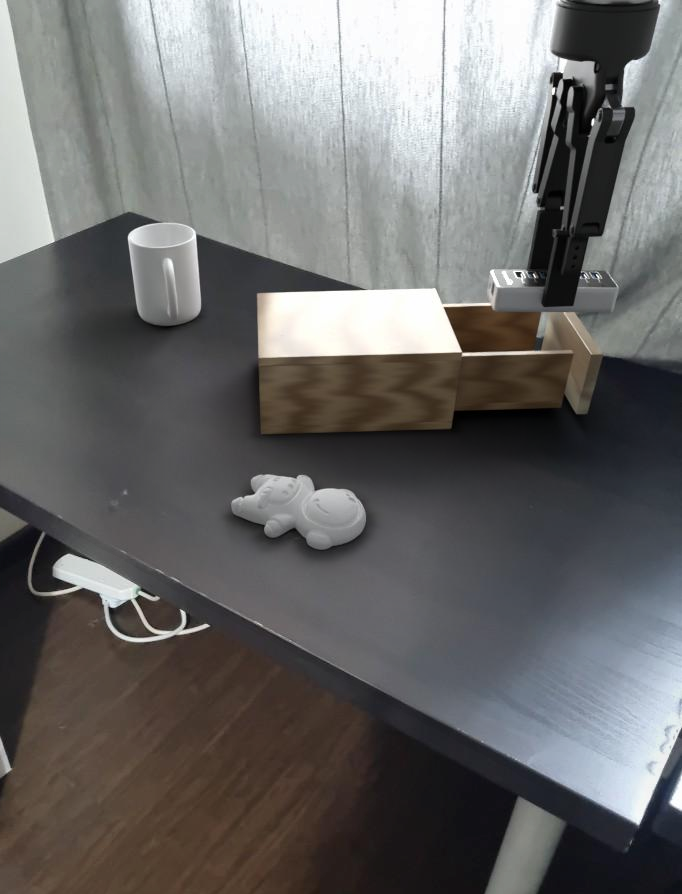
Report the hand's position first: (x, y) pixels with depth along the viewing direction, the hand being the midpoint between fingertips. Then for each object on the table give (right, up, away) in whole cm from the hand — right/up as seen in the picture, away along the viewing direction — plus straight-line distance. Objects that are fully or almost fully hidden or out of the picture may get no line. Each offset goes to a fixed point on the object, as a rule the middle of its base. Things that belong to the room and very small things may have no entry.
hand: (548, 291), depth 77 cm
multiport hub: (0, -1, +1) cm, 1 cm away
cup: (-39, +5, +29) cm, 49 cm away
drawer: (-2, -6, +14) cm, 15 cm away
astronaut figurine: (-23, -21, -1) cm, 31 cm away
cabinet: (-17, -7, +14) cm, 24 cm away
